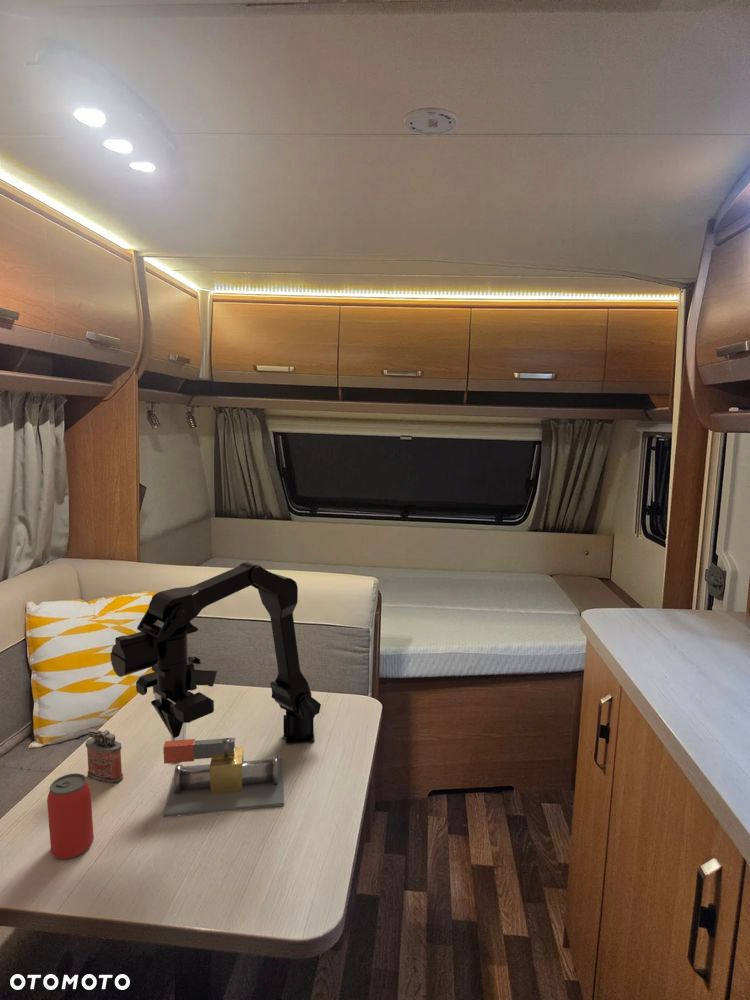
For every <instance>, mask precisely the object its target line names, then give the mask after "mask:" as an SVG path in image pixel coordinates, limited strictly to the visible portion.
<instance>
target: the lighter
mask: <svg viewBox="0 0 750 1000" xmlns="http://www.w3.org/2000/svg"><path fill="white" fill-rule="evenodd" d="M88 737H89V738H88V739H87V740H86V741H85V747H86V752H87V753H86V754H87V767H88V768H87V769H88V771H87V778H88V777H89V778H88V779H90V780H92V781H94V780H95V782H97V781H98V782H99V783H101V782H102V784H106V783H108V785H117V784H120V783H121V782H123V780H124V773H123V769H122V766H123V765H122V753H121V751H122V743H121V742H119V741H117V740H116V734H115V733H111V732H110V731H109V729H108V730H107V729H105V730H104V731H102V730H99V729H94V728H92V729H90V730H88Z"/></svg>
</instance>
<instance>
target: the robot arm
mask: <svg viewBox="0 0 750 1000" xmlns="http://www.w3.org/2000/svg"><path fill="white" fill-rule="evenodd" d="M238 565H239V566H236V567H233V568H231V569H228V570H226V571H224V572H222V573H220V574H217V575H216V576H213V577H211V578H208V579H206V580H203V581H202V582H200V583H199V582H198V583H196V584H194V585H190V586H186V587H174V588H170V589H166V590H161V591H159V592H157V593H155V594H154V595H153V596H152V597H151V600H150V602H149V605H148V608H147V610H146V611H145V613H144V615H143V617H142V619H141V620H140V622H139V623H138V625H137V627H136V630H137V631H138V632H135V633H132V634H129V635H128V634H127V635H121V636H117V637H115V639H114V640H115V644H114V645H113V646H112V647H111V648H112V649H111V652H110V654H109V656H110V663H111V666H112V670H113V671H114V672H115V674H116V676H117V677H119V678H122V677H125V676H128V675H132V674H134V673H137V672H140V671H143V670H147V669H150V668H151V670H152V672H150V673H147V674H144V675H141V676H139V678H137V681H135V686H136V688H135V689H136V692H137V693H138V694H140V695H141V696H145V695H147V693H148V689H149V688H152V694H153V695H154V700H151V702H150V704H151V706H152V707H154V709H155V711H156V713H157V714H158V716H159V717H160V719H161V721H162V722H163V723H164V726H165V728H166V729H167V731H168V732H169V734H170V736H171V737H172V738H173V739H174V738H176V737H178V736H179V735H180V732H181V729H182V725H183V723H186V724H188V723H192V722H194V721H196V720H199V719H201V718H203V717H206V716H208V715H210V714H213V713H214V711H215V700H213V699H211V697H210V696H209V697H208V696H207V695H205V694H204V693H202V692H200V691H198V692H196V693H193V692H192V691H195V690H197V689H198V688H197V687H198V686H208V687H214V686H215V685H214V684H215V681H216V677H217V674H218V669H217V668H215V667H213V666H211V665H209V664H206V663H203V662H201V658H200V657H198V656H195V655H189V651H188V650H189V649H188V646H189V645H188V635H189V634H194V633H196V632H198V631H199V628H198V627H197V626H195V625H194V624H192V623H191V621H192V620H194V619H195V618H197V617H198V616H199V614H200V613H201V611H202V610H203V609H205V608H207V607H208V606H210V605H212V604H214V603H217V602H219V601H221V600H224V599H225V598H227V597H230V596H231V595H233V594H235V593H238V592H240V591H242V590H244V589H246V588H249V587H250V586H251V587H253V588H254V589H257V590H258V594H259V597H260V600H261V604H262V605H263V607H264V608H265V610H266V611H267V613H268V615H269V616H270V622H271V630H272V638H273V644H274V651H275V659H276V665H277V673H278V674H277V676H276V678H275V680H273V681H271V682H270V684H269V685H270V688H271V698H272V699H273V700H274V701H275V702H276V703H277V704H278V705H279V708H280V709H283V710H284V711H285V714H284V715H283V716H282V718H283V719H282V720H283V738H285V744H299V743H300V744H301V743H310V742H311V743H312V742H315V739H316V738H315V731H314V723H315V720H314V719H315V717H316V715H318V714H319V713H320V710H321V707H322V704H321V703H320V702H319V701H318V700H316V699H315V698H314V697H312V691H311V688H310V684H309V682H308V681H307V679H306V678H305V675H304V674H303V672H302V670H301V667H300V660H299V659H300V658H299V657H300V656H299V652H298V644H297V642H298V641H297V635H296V628H295V622H294V621H295V619H294V611H295V609H296V607H297V605H298V601H299V600H298V598H299V597H298V596H299V595H298V594H299V593H298V592H299V588H298V584H297V582H296V581H295V580H294V579H293V578H291V577H287V576H284V575H280V574H277V573H273V572H271V571H268V570H267V569H265V568H264V567H262V566H261V565H258V564H255V563H253V562H248V561H245V562H241V563H240V564H238ZM157 622H159V623H160V624H162V626H161V627H160V626H158V625H156V623H157Z"/></svg>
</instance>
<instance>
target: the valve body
mask: <svg viewBox="0 0 750 1000" xmlns="http://www.w3.org/2000/svg"><path fill="white" fill-rule="evenodd" d="M278 758H279V757H278V756H272V759H273V760H268V761H256V762H244V760H245V759H244V746H235V756H230V757H217V758H210V765H209V766H197V767H185V768H183V764H176V765H175V768H174V772H173V774H174V775H173V779H174V793H175V794H180V793H181V790H187V789H198V788H209V787H211V795H215V794H226V793H237V792H242V790H243V784H254V783H265V782H273V785H278Z"/></svg>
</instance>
